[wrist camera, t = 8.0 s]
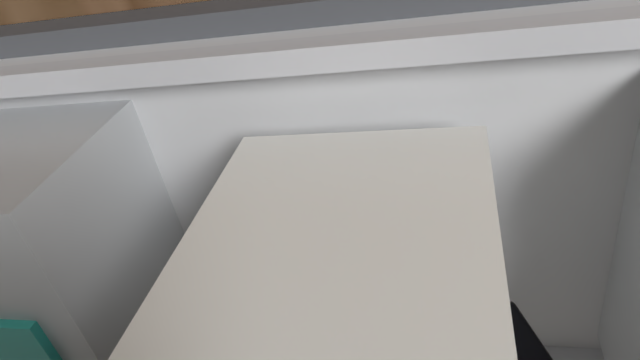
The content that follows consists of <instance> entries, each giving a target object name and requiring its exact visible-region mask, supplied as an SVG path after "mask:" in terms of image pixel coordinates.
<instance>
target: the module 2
mask: <svg viewBox="0 0 640 360" xmlns="http://www.w3.org/2000/svg"><path fill="white" fill-rule="evenodd" d="M597 336H598V339H599V343H600V346H601V349H602V353H603V356H604V360H640V119H639V124H638V129H637V134H636V139H635V144H634V149H633V154H632V160H631V165H630V170H629V175H628V180H627V185H626V190H625V195H624V201H623V206H622V211H621V216H620V221H619V226H618V231H617V236H616V242H615V247H614V252H613V257H612V262H611V267H610V272H609V277H608V283H607V288H606V293H605V298H604V303H603V308H602V313H601V318H600V324H599V329H598V334H597Z"/></svg>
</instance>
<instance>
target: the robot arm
mask: <svg viewBox="0 0 640 360" xmlns="http://www.w3.org/2000/svg"><path fill="white" fill-rule="evenodd" d="M510 307H511V314H512V322H513V329H514V337H515V344H516V351H517V359H518V360H553V359H552V357H551V356H550V354H549V353H548V351H547V350H546V348H545V347H544V345H543V344H542V342H541V341H540V339H539V338H538V337H537V335H536V334H535V332H534V331H533V329H532V328H531V326H530V325H529V323H528V322H527V320H526V319H525V317H524V316H523V314H522V313H521V311H520V310H519V308H518V307H517V306H516V304H515V303H514V302H512V301H510Z"/></svg>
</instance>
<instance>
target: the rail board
mask: <svg viewBox="0 0 640 360" xmlns="http://www.w3.org/2000/svg"><path fill="white" fill-rule="evenodd" d="M119 100H132V102H133V105H134V107H135V110H136V112H137V115H138V117H139V120H140V122H141V125H142V128H143V130H144V133H145V135H146V138H147V140H148V143H149V145H150V148H151V150H152V153H153V156H154V158H155V161H156V163H157V166H158V168H159V171H160V173H161V176H162V178H163V181H164V184H165V186H166V189H167V191H168V194H169V196H170V199H171V201H172V204H173V206H174V209H175V212H176V214H177V217H178V219H179V222H180V224H181V227H182V229H183V232H184V234H185V232H186V231H187V229H188V227H189V226H190V224H191V223H192V221H193V219H194V218H195V216H196V214H197V213H198V211H199V209H200V208H201V206H202V205H203V203H204V201H205V200H206V198H207V196H208V195H209V193H210V191H211V190H212V188H213V187H214V185H215V183H216V182H217V180H218V178H219V177H220V175H221V173H222V172H223V170H224V169H225V167H226V165H227V164H228V162H229V160H230V159H231V157H232V155H233V154H234V152H235V151H236V149H237V147H238V146H239V144H240V142H241V141H242V139H243V137H254V136H276V135H297V134H318V133H339V132H360V131H381V130H402V129H423V128H444V127H465V126H486V128H487V135H488V143H489V150H490V158H491V165H492V173H493V180H494V188H495V195H496V202H497V210H498V217H499V225H500V232H501V240H502V247H503V255H504V262H505V270H506V277H507V284H508V292H509V299H510V301H512V302H514V303H515V304H516V306H517V307H518V308H519V310H520V311H521V313H522V314H523V316H524V317H525V319H526V320H527V322H528V323H529V325H530V326H531V328H532V329H533V331H534V332H535V334H536V335H537V337H538V338H539V339H540V341H541V342H542V344H543V345H544V347H545V348H546V350H547V351H548V353H549V354H550V356H551V357H552V359H553V360H604V356H603V353H602V349H601V346H600V343H599V339H598V336H597V334H598V329H599V324H600V318H601V313H602V308H603V303H604V298H605V293H606V288H607V283H608V277H609V272H610V267H611V262H612V257H613V252H614V247H615V242H616V236H617V231H618V226H619V221H620V216H621V211H622V206H623V201H624V195H625V190H626V185H627V180H628V175H629V170H630V165H631V160H632V154H633V149H634V144H635V139H636V134H637V129H638V124H639V119H640V0H211V1H203V2H194V3H186V4H178V5H169V6H161V7H152V8H144V9H136V10H127V11H119V12H111V13H102V14H94V15H85V16H77V17H69V18H60V19H52V20H44V21H35V22H27V23H18V24H10V25H2V26H0V109H7V108H21V107H35V106H49V105H63V104H77V103H91V102H105V101H119Z"/></svg>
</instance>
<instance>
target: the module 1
mask: <svg viewBox="0 0 640 360" xmlns="http://www.w3.org/2000/svg"><path fill="white" fill-rule="evenodd" d="M183 236H184V232H183V229H182V227H181V224H180V222H179V219H178V217H177V214H176V212H175V209H174V206H173V204H172V201H171V199H170V196H169V194H168V191H167V189H166V186H165V184H164V181H163V178H162V176H161V173H160V171H159V168H158V166H157V163H156V161H155V158H154V156H153V153H152V150H151V148H150V145H149V143H148V140H147V138H146V135H145V133H144V130H143V128H142V125H141V122H140V120H139V117H138V115H137V112H136V110H135V107H134V105H133V102H132V100H119V101H105V102H91V103H77V104H63V105H49V106H35V107H21V108H7V109H0V360H108V359H109V357H110V355H111V354H112V352H113V350H114V349H115V347H116V345H117V344H118V342H119V340H120V339H121V337H122V336H123V334H124V332H125V331H126V329H127V327H128V326H129V324H130V322H131V321H132V319H133V318H134V316H135V314H136V313H137V311H138V309H139V308H140V306H141V304H142V303H143V301H144V300H145V298H146V296H147V295H148V293H149V291H150V290H151V288H152V286H153V285H154V283H155V282H156V280H157V278H158V277H159V275H160V273H161V272H162V270H163V268H164V267H165V265H166V264H167V262H168V260H169V259H170V257H171V255H172V254H173V252H174V250H175V249H176V247H177V246H178V244H179V242H180V241H181V239H182V237H183Z"/></svg>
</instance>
